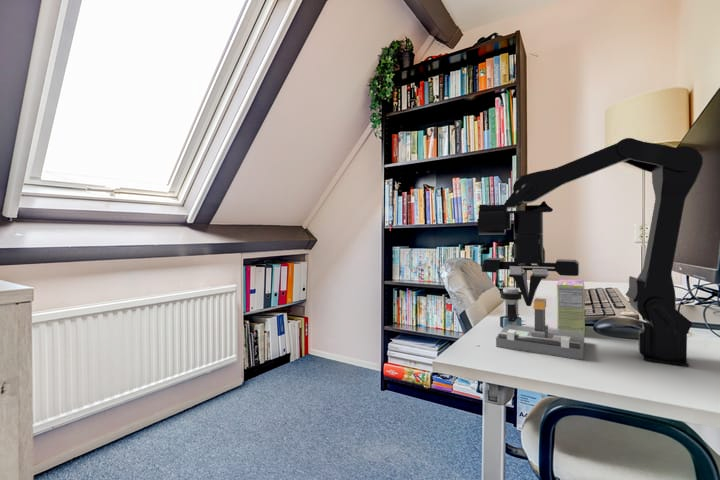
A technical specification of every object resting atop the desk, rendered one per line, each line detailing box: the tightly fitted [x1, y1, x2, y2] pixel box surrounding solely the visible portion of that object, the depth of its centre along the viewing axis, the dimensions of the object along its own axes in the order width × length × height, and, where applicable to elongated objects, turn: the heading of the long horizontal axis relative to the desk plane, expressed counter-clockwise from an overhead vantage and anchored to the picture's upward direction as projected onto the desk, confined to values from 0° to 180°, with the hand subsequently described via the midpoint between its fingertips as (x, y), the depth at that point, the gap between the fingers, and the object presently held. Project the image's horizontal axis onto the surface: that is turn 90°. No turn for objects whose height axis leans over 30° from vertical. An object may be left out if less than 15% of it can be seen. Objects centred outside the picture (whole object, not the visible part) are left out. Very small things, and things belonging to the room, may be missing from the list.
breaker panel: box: [495, 324, 585, 361], centre depth 80 cm, size 16×12×4 cm
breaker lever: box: [533, 297, 547, 332], centre depth 79 cm, size 2×4×7 cm, turn 147°
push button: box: [499, 286, 527, 329], centre depth 93 cm, size 7×5×10 cm
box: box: [556, 279, 586, 337], centre depth 90 cm, size 10×6×12 cm, turn 149°
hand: (528, 305), depth 80 cm, fingers closed
